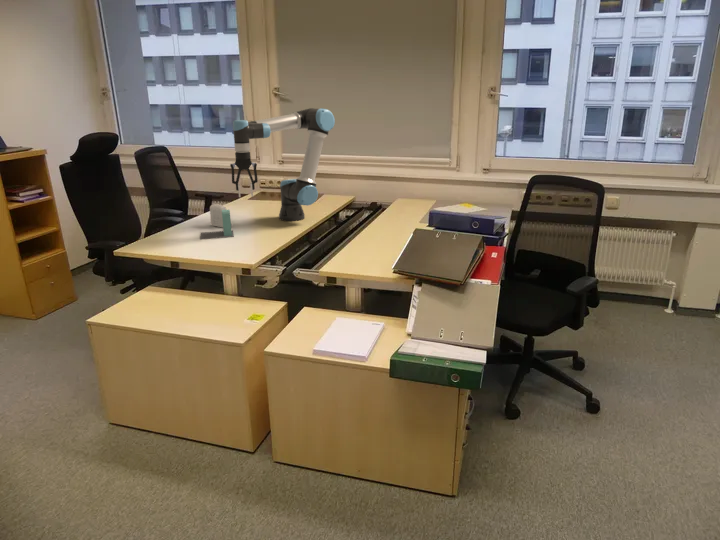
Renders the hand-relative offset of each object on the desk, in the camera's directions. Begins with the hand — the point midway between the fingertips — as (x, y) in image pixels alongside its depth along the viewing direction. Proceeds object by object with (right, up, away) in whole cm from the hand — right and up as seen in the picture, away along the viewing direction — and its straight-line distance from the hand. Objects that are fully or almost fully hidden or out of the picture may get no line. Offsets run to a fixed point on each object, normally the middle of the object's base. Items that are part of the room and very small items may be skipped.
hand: (245, 196), depth 277 cm
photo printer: (-19, -14, +20) cm, 31 cm away
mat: (-16, -20, +3) cm, 26 cm away
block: (-11, -19, +4) cm, 22 cm away
